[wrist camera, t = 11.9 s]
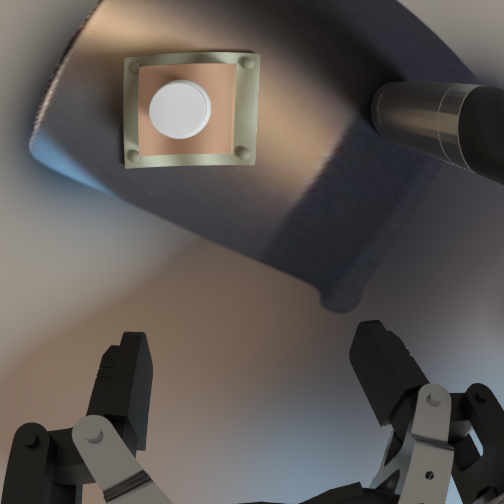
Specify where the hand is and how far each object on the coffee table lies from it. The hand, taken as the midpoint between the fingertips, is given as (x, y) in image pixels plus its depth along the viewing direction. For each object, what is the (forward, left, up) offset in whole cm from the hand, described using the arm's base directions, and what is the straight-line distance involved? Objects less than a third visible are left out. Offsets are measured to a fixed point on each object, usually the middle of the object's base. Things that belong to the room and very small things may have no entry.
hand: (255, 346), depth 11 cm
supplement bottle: (+4, -8, -22) cm, 24 cm away
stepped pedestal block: (+4, -8, -30) cm, 31 cm away
